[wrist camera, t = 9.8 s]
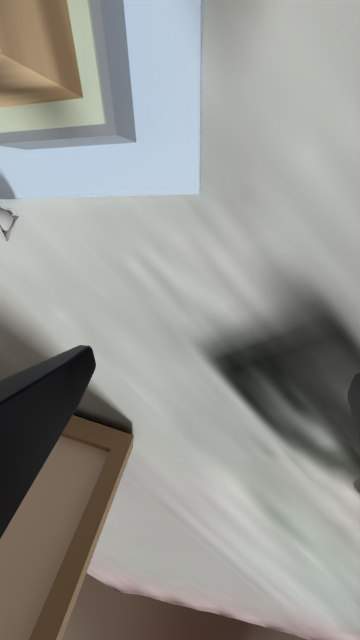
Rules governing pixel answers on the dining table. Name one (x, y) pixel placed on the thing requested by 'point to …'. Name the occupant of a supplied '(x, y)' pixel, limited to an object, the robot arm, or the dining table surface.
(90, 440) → the photo frame
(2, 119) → the base block
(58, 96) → the oak cube
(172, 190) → the board
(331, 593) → the dining table surface
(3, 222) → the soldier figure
